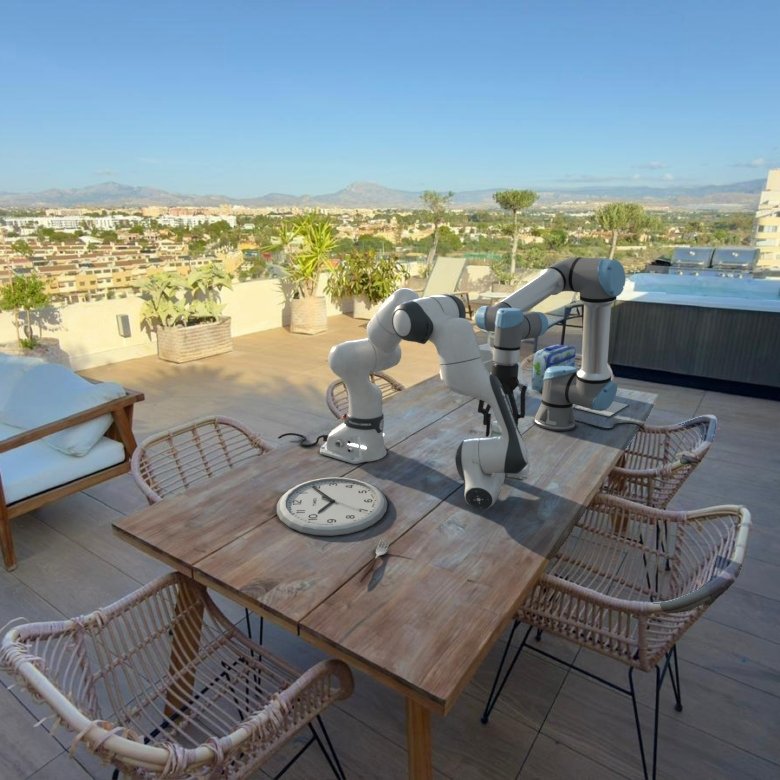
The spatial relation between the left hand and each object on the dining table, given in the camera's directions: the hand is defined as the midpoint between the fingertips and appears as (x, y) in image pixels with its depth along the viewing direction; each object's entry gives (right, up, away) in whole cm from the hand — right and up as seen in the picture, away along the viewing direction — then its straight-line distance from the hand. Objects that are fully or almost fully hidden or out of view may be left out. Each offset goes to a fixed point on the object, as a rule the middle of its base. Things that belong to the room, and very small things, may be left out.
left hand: (497, 454), depth 160 cm
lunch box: (+44, +20, +90) cm, 102 cm away
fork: (-37, -19, -42) cm, 59 cm away
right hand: (0, +6, -3) cm, 6 cm away
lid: (0, +9, -4) cm, 10 cm away
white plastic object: (+9, +19, +83) cm, 85 cm away
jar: (0, -7, +1) cm, 7 cm away
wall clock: (-49, -12, -18) cm, 53 cm away
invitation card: (+58, +13, +66) cm, 89 cm away
